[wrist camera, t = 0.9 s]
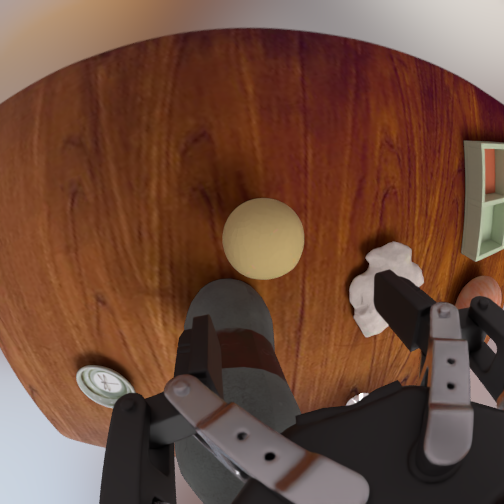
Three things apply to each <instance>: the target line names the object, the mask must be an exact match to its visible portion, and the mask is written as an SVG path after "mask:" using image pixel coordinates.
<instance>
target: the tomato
mask: <svg viewBox="0 0 504 504" xmlns="http://www.w3.org/2000/svg"><path fill="white" fill-rule="evenodd" d="M476 296H484V297H487V298H489V299H491V300H492V301H493V302H495V303H496V304H497V305H498V306H499V307H500V305H501V290H500V287H499V285H498V283H497V282H496V281H495V280H494V279H493V278H491V277H489V276H478V277H476V278H474V279H472V280H471V281H469V282H468V283H467V284H466V285H465V286H464V288H463V289H462V291H461V292H460V294H459V296H458V298H457V301H456V304H455V307H456V308H457V309H463V308H468V307H469V306H470V302H471V300H472V298H474V297H476Z"/></svg>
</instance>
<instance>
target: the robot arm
mask: <svg viewBox="0 0 504 504" xmlns="http://www.w3.org/2000/svg"><path fill="white" fill-rule="evenodd" d="M373 301H374V306H375V309H376V311H377V312H378V313H379V315H380V316H381V317H382V318H383V319H384V320H385V322H386V323H387V324H388V325H389V326H390V327H391V329H392V330H393V331H394V332H395V333H396V335H397V336H398V337H399V338H400V339H401V341H402V342H403V343H404V344H405V346H406V347H407V348H408V349H409V350H410V352H411V351H414V350H416V349H418V348H420V349H421V352H420V357H419V367H418V376H417V383H416V385H409V386H402V385H401V384H400V382H399V381H398V380H397V381H395V382H392V383H390V384H388V385H385V386H383V387H380V388H378V389H376V390H374V391H373V392H371V393H370V394H368V395H367V396H365V397H364V398H362V399H361V400H359V401H358V402H356V403H354V404H352V405H347V406H338V407H329V408H321V409H318V410H315V411H311V412H308V413H304V414H300V415H296V416H295V418H296V424H294V425H292V426H290V427H289V428H287V429H285V430H284V431H283V432H282V433H278V432H276V431H275V430H273V429H272V428H270V427H269V426H267V425H266V424H264V423H263V422H261V421H260V420H259V419H257V418H256V417H254V416H253V415H251V414H250V413H249V412H247V411H246V410H244V409H243V408H242V407H240V406H239V405H238V404H236V403H234V402H230V403H229V404H228V403H226V402H225V401H224V395H223V379H222V361H221V348H220V343H219V340H218V337H217V334H216V331H215V328H214V325H213V322H212V319H211V317H210V315H209V314H207V315H202V316H197V317H193V323H192V329H187V330H184V331H183V333H182V334H181V336H180V337H179V342H178V349H177V356H176V364H175V371H174V378H172V379H171V380H169V381H168V383H167V384H166V386H165V388H164V391H163V392H162V393H160V394H157V395H154V396H152V397H149V398H146V399H144V397H143V396H142V395H140V394H138V393H127V394H125V395H123V396H121V397H120V398H119V399H118V400H117V401H116V402H115V404H114V407H113V412H112V417H111V422H110V427H109V433H108V439H107V445H106V451H105V458H104V466H103V473H102V481H101V491H100V502H99V503H100V504H176V489H175V467H174V466H175V465H174V442H177V441H179V440H182V439H185V438H188V437H190V436H194V437H195V438H196V439H197V440H198V441H199V442H200V443H201V444H202V445H203V446H204V447H205V448H206V449H207V450H208V451H210V452H211V453H212V454H213V455H214V456H215V457H216V458H217V459H218V460H219V461H220V462H221V463H222V464H223V465H224V466H225V467H226V468H227V469H228V470H229V471H230V472H231V473H233V474H234V475H235V476H236V477H237V478H238V479H240V480H241V481H242V482H243V483H245V484H244V486H243V487H242V489H241V490H240V492H239V493H238V494H237V496H236V497H235V499H234V500H233V501H232V503H231V504H504V310H503V309H502V308H500V307H499V306H498V305H497V304H496V303H495V302H493V301H492V300H491V299H489V298H487V297H484V296H476V297H474V298H472V300H471V302H470V306H469V307H468V308H463V309H457V308H456V307H455V306H454V305H452V304H450V303H447V302H438V303H436V302H435V301H434V300H433V299H432V298H431V297H429V296H428V295H427V294H426V293H425V292H424V291H422V290H420V288H419V287H418V286H416V285H415V284H414V283H413V282H412V281H410V280H409V279H407V278H404V277H402V276H398V275H396V274H395V273H394V272H393V271H392V270H390V269H388V270H385V271H382V272H378V273H376V274H375V276H374V299H373ZM486 335H488V336H489V337H490V338H491V339H492V340H493V341H494V342H495V343H496V346H497V353H496V354H495V353H494V352H493V351H492V350H491V349H490V347H489V346H488V345H487V344H486V343H485V342H484V340H485V337H486ZM470 368H471V369H472V371H473V372H474V373H475V375H476V376H477V377H478V378H479V380H480V381H481V382H482V384H483V385H484V386H485V388H486V389H487V390H488V392H489V393H490V394H491V396H492V397H493V398H494V400H495V401H496V403H497V408H493V407H489V406H486V405H482V404H479V403H475V402H471V401H470Z"/></svg>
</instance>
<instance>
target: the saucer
mask: <svg viewBox="0 0 504 504" xmlns="http://www.w3.org/2000/svg"><path fill="white" fill-rule="evenodd" d="M76 379H77V383H78V385H79V387H80V389H81V390H82V391H83V393H84V394H85V395H87V396H88V397H89V398H90V399H92V400H93V401H95V402H96V403H98V404H100V405H103V406H106V407H109V408H113V407H114V404H115V402H116V401H117V400H118V399H119V398H120V397H121V396H123V395H125V394H127V393H136V392H135V390H134V388H133V386H132V385H131V384H130V382H129V381H128V380H127V379H125V378H124V377H123V376H122V375H121V374H119V373H118V372H116V371H114V370H112V369H110V368H107V367H103V366H96V365H88V366H84V367H82V368H80V369H79V371H78V372H77V375H76Z"/></svg>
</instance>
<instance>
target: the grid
mask: <svg viewBox="0 0 504 504" xmlns="http://www.w3.org/2000/svg"><path fill="white" fill-rule="evenodd" d="M464 153H465V216H464V230H463V240H462V249H461V253H462V254H464V255H465V256H467V257H469V258H470V259H472V260H473V261H475V262H477V261H479V260H481V259H483V258H485V257H487V256H490V255H492V254H494V253H496V252H498V251H500V250H502V249H504V143H503V142H488V141H464Z"/></svg>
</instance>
